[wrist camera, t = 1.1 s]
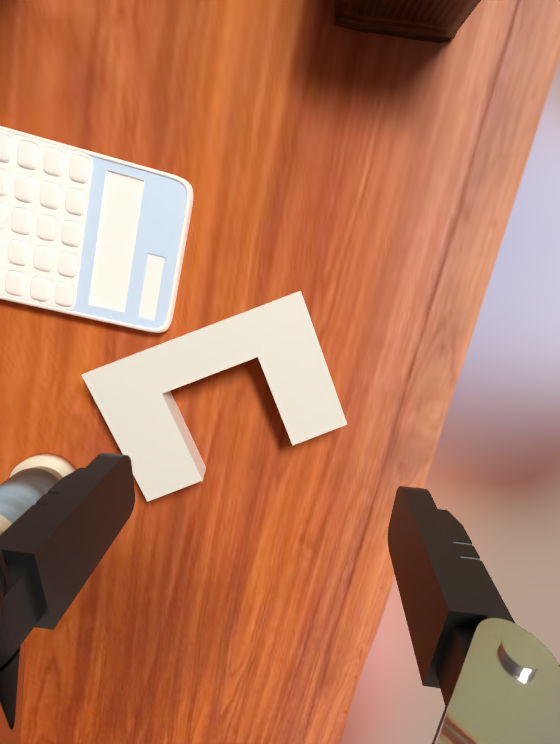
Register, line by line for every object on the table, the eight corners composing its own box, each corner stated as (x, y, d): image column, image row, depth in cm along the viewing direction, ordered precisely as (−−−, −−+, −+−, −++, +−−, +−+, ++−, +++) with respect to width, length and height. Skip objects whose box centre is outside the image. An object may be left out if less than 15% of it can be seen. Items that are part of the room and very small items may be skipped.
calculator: (-54, 115, 27) (-76, 101, 25) (198, 185, 30) (194, 177, 28) (-63, 283, 29) (-84, 282, 28) (171, 335, 32) (166, 337, 30)
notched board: (94, 369, 31) (81, 374, 29) (296, 291, 32) (300, 290, 29) (154, 487, 34) (147, 501, 32) (340, 415, 34) (347, 424, 32)
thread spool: (3, 466, 32) (-104, 537, 23) (62, 444, 32) (-19, 505, 23) (35, 518, 34) (-53, 606, 24) (91, 496, 34) (27, 575, 24)
